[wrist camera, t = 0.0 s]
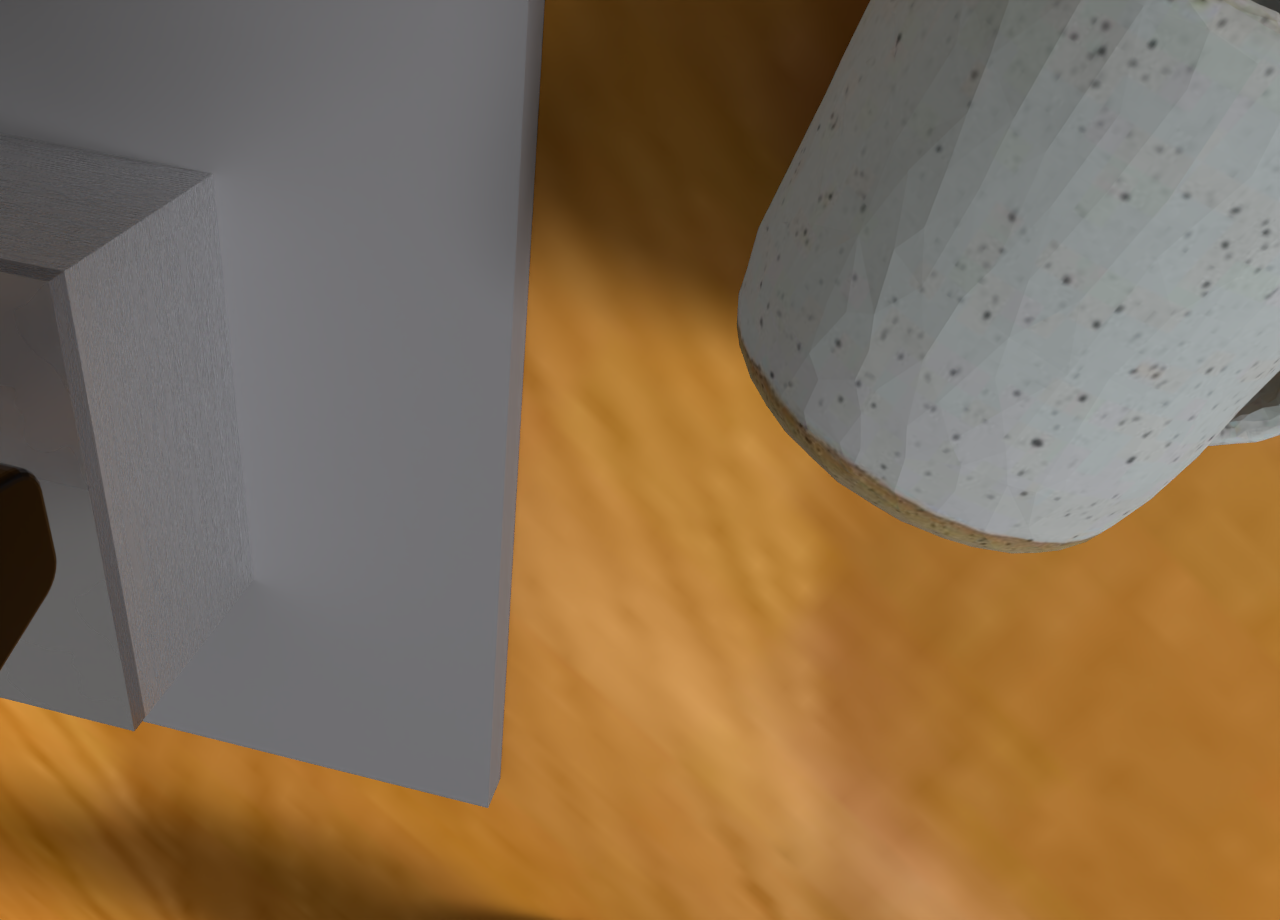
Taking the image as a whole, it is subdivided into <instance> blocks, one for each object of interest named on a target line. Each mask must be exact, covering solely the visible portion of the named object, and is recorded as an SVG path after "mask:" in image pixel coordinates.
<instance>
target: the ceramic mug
mask: <svg viewBox="0 0 1280 920" xmlns="http://www.w3.org/2000/svg"><path fill="white" fill-rule="evenodd" d="M737 330H738V338H739V345H740V348H741V351H742V354H743V357H744V360H745V363H746V366H747V368H748V371H749V374H750V377H751V379H752V381H753V383H754V384H755V386H756V388H757V389H758V391H759V393H760V395H761V396H762V398H763V400H764V402H765V403H766V405H767V406H768V408H769V409H770V411H771V412H772V413H773V415H774V416H775V418H776V419H777V421H778V422H779V423H780V425H781V426H782V428H783V429H784V430H785V432H786V433H787V434H788V435H789V436H790V437H791V438H792V439H793V440H794V441H796V442H797V443H798V444H799V445H800V446H801V447H802V448H803V449H804V450H805V451H806V452H807V453H808V454H809V455H810V456H811V457H812V458H813V459H814V460H815V461H816V462H817V463H818V464H819V465H820V466H821V467H822V468H823V469H825V470H826V471H827V472H828V473H829V474H830V475H831V476H832V477H833V478H834V479H835V480H836V481H837V482H839V483H840V484H842V485H843V486H845V487H847V488H848V489H850V490H851V491H853V492H854V493H856V494H858V495H859V496H861V497H862V498H864V499H865V500H867V501H869V502H870V503H872V504H873V505H875V506H877V507H878V508H880V509H882V510H883V511H885V512H887V513H888V514H890V515H892V516H894V517H895V518H897V519H899V520H900V521H903V522H905V523H908V524H910V525H913V526H915V527H917V528H920V529H922V530H925V531H927V532H930V533H932V534H935V535H937V536H940V537H942V538H945V539H948V540H952V541H955V542H958V543H962V544H965V545H968V546H972V547H977V548H983V549H989V550H995V551H1001V552H1007V553H1038V552H1048V551H1057V550H1061V549H1065V548H1068V547H1071V546H1074V545H1077V544H1081V543H1084V542H1087V541H1088V540H1090V539H1092V538H1093V537H1095V536H1096V535H1098V534H1100V533H1101V532H1103V531H1105V530H1106V529H1108V528H1110V527H1111V526H1113V525H1114V524H1116V523H1117V522H1119V521H1120V520H1122V519H1123V518H1125V517H1126V516H1128V515H1129V514H1130V513H1132V512H1133V511H1135V510H1136V509H1137V508H1139V507H1140V506H1142V505H1143V504H1145V503H1146V502H1147V501H1149V500H1150V499H1152V498H1153V497H1154V496H1155V495H1156V494H1157V493H1158V492H1159V491H1160V490H1161V489H1163V488H1164V487H1165V486H1166V485H1167V484H1168V483H1169V482H1170V481H1171V480H1173V479H1174V478H1175V477H1176V476H1177V475H1178V474H1179V473H1180V472H1181V471H1182V470H1184V469H1185V468H1186V467H1187V466H1188V465H1189V464H1190V463H1191V462H1192V461H1194V460H1195V459H1196V458H1197V457H1198V456H1199V455H1200V454H1201V453H1202V451H1203V450H1204V449H1205V448H1206V447H1207V446H1215V445H1225V444H1235V443H1251V442H1258V441H1262V440H1266V439H1269V438H1272V437H1274V436H1277V435H1280V0H870V2H869V4H868V6H867V8H866V10H865V12H864V14H863V16H862V18H861V20H860V22H859V24H858V27H857V29H856V31H855V33H854V35H853V37H852V39H851V41H850V43H849V45H848V47H847V49H846V51H845V53H844V55H843V57H842V60H841V62H840V64H839V66H838V68H837V70H836V72H835V75H834V77H833V79H832V81H831V83H830V85H829V88H828V90H827V92H826V94H825V96H824V98H823V100H822V102H821V104H820V106H819V108H818V110H817V112H816V114H815V116H814V118H813V120H812V122H811V124H810V126H809V128H808V130H807V132H806V134H805V136H804V138H803V140H802V142H801V144H800V146H799V148H798V150H797V152H796V154H795V156H794V158H793V160H792V162H791V164H790V166H789V168H788V170H787V172H786V174H785V176H784V178H783V180H782V182H781V184H780V186H779V188H778V190H777V192H776V194H775V196H774V198H773V200H772V202H771V204H770V206H769V208H768V210H767V212H766V214H765V216H764V218H763V220H762V222H761V224H760V226H759V228H758V232H757V235H756V239H755V243H754V246H753V250H752V253H751V257H750V260H749V264H748V267H747V271H746V274H745V277H744V280H743V283H742V286H741V289H740V292H739V299H738V316H737Z"/></svg>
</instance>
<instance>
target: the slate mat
mask: <svg viewBox="0 0 1280 920" xmlns="http://www.w3.org/2000/svg"><path fill="white" fill-rule="evenodd" d="M544 5H545V0H0V134H5V135H10V136H16V137H21V138H26V139H31V140H37V141H42V142H47V143H53V144H58V145H63V146H68V147H74V148H79V149H84V150H89V151H95V152H100V153H105V154H111V155H116V156H121V157H126V158H132V159H137V160H142V161H147V162H153V163H158V164H163V165H168V166H174V167H179V168H184V169H190V170H195V171H200V172H205V173H211V174H213V182H214V192H215V202H216V212H217V222H218V232H219V242H220V252H221V262H222V272H223V282H224V292H225V301H226V311H227V321H228V331H229V341H230V351H231V361H232V371H233V381H234V391H235V401H236V411H237V421H238V431H239V441H240V451H241V461H242V471H243V481H244V490H245V500H246V510H247V520H248V530H249V540H250V550H251V560H252V570H253V580H252V582H251V583H250V584H249V586H248V587H247V588H246V589H245V591H244V592H243V593H242V594H241V596H240V597H239V598H238V600H237V601H236V602H235V603H234V605H233V606H232V607H231V609H230V610H229V611H228V612H227V614H226V615H225V616H224V617H223V619H222V620H221V621H220V623H219V624H218V625H217V626H216V628H215V629H214V630H213V631H212V633H211V634H210V635H209V637H208V638H207V639H206V640H205V642H204V643H203V644H202V646H201V647H200V648H199V649H198V651H197V652H196V653H195V654H194V656H193V657H192V658H191V660H190V661H189V662H188V663H187V665H186V666H185V667H184V669H183V670H182V671H181V672H180V674H179V675H178V676H177V677H176V679H175V680H174V681H173V683H172V684H171V685H170V686H169V688H168V689H167V690H166V692H165V693H164V694H163V695H162V697H161V698H160V699H159V700H158V702H157V703H156V704H155V706H154V707H153V708H152V709H151V711H150V712H149V713H148V714H147V716H146V717H145V718H144V720H143V721H144V722H148V723H152V724H156V725H160V726H164V727H168V728H172V729H176V730H180V731H184V732H188V733H192V734H196V735H200V736H204V737H208V738H212V739H216V740H220V741H224V742H228V743H232V744H236V745H240V746H244V747H248V748H252V749H256V750H260V751H264V752H268V753H272V754H276V755H280V756H284V757H287V758H291V759H295V760H299V761H303V762H307V763H311V764H315V765H319V766H323V767H327V768H331V769H335V770H339V771H343V772H347V773H351V774H355V775H359V776H363V777H367V778H371V779H375V780H379V781H383V782H387V783H391V784H395V785H399V786H403V787H407V788H411V789H415V790H419V791H423V792H427V793H431V794H435V795H439V796H443V797H447V798H451V799H455V800H459V801H463V802H467V803H471V804H475V805H479V806H483V807H486V808H488V807H489V804H490V802H491V800H492V797H493V795H494V792H495V790H496V787H497V785H498V783H499V780H500V771H501V754H502V736H503V719H504V702H505V684H506V667H507V649H508V632H509V615H510V597H511V580H512V562H513V545H514V527H515V510H516V493H517V475H518V458H519V440H520V423H521V406H522V388H523V371H524V353H525V336H526V319H527V301H528V284H529V266H530V249H531V231H532V214H533V197H534V179H535V162H536V144H537V127H538V110H539V92H540V75H541V57H542V40H543V23H544Z"/></svg>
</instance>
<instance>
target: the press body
mask: <svg viewBox="0 0 1280 920" xmlns="http://www.w3.org/2000/svg"><path fill="white" fill-rule="evenodd" d="M0 463H4V464H8V465H13V466H17V467H21V468H24V469H27V470H28V471H30V472H32V473H33V474H34V475H35V477H36V478H37V479H38V481H39V482H40V485H41V488H42V492H43V496H44V501H45V506H46V510H47V515H48V519H49V524H50V529H51V533H52V538H53V542H54V547H55V552H56V558H57V564H56V573H55V578H54V581H53V584H52V586H51V589H50V591H49V593H48V595H47V596H46V598H45V600H44V601H43V603H42V604H41V606H40V608H39V609H38V611H37V612H36V614H35V616H34V617H33V619H32V620H31V622H30V624H29V625H28V627H27V629H26V630H25V632H24V633H23V635H22V637H21V638H20V640H19V641H18V643H17V645H16V646H15V648H14V649H13V651H12V653H11V654H10V656H9V657H8V659H7V661H6V662H5V664H4V666H3V667H2V669H1V670H0V697H1V698H5V699H9V700H13V701H17V702H21V703H25V704H29V705H33V706H37V707H41V708H45V709H49V710H53V711H57V712H61V713H65V714H68V715H72V716H76V717H80V718H84V719H88V720H92V721H96V722H100V723H104V724H108V725H112V726H116V727H120V728H124V729H128V730H132V731H135V730H136V729H137V727H138V726H139V725H140V723H141V722H142V721H143V720H144V718H145V717H146V716H147V714H148V713H149V712H150V711H151V709H152V708H153V707H154V706H155V704H156V703H157V702H158V700H159V699H160V698H161V697H162V695H163V694H164V693H165V692H166V690H167V689H168V688H169V686H170V685H171V684H172V683H173V681H174V680H175V679H176V677H177V676H178V675H179V674H180V672H181V671H182V670H183V669H184V667H185V666H186V665H187V663H188V662H189V661H190V660H191V658H192V657H193V656H194V654H195V653H196V652H197V651H198V649H199V648H200V647H201V646H202V644H203V643H204V642H205V640H206V639H207V638H208V637H209V635H210V634H211V633H212V631H213V630H214V629H215V628H216V626H217V625H218V624H219V623H220V621H221V620H222V619H223V617H224V616H225V615H226V614H227V612H228V611H229V610H230V609H231V607H232V606H233V605H234V603H235V602H236V601H237V600H238V598H239V597H240V596H241V594H242V593H243V592H244V591H245V589H246V588H247V587H248V586H249V584H250V583H251V582H252V580H253V570H252V560H251V550H250V540H249V530H248V520H247V510H246V500H245V490H244V481H243V471H242V461H241V451H240V441H239V431H238V421H237V411H236V401H235V391H234V381H233V371H232V361H231V351H230V341H229V331H228V321H227V311H226V301H225V292H224V282H223V272H222V262H221V252H220V242H219V232H218V222H217V212H216V202H215V192H214V182H213V174H211V173H205V172H200V171H195V170H190V169H184V168H179V167H174V166H168V165H163V164H158V163H153V162H147V161H142V160H137V159H132V158H126V157H121V156H116V155H111V154H105V153H100V152H95V151H89V150H84V149H79V148H74V147H68V146H63V145H58V144H53V143H47V142H42V141H37V140H31V139H26V138H21V137H16V136H10V135H5V134H0Z"/></svg>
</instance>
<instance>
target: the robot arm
mask: <svg viewBox="0 0 1280 920" xmlns="http://www.w3.org/2000/svg"><path fill="white" fill-rule="evenodd" d="M56 564H57V558H56V552H55V547H54V542H53V538H52V533H51V529H50V524H49V519H48V515H47V510H46V506H45V501H44V496H43V492H42V488H41V485H40V482H39V481H38V479H37V478H36V477H35V475H34V474H33V473H32V472H30V471H28V470H27V469H24V468H21V467H17V466H13V465H8V464H4V463H0V670H1V669H2V667H3V666H4V664H5V662H6V661H7V659H8V657H9V656H10V654H11V653H12V651H13V649H14V648H15V646H16V645H17V643H18V641H19V640H20V638H21V637H22V635H23V633H24V632H25V630H26V629H27V627H28V625H29V624H30V622H31V620H32V619H33V617H34V616H35V614H36V612H37V611H38V609H39V608H40V606H41V604H42V603H43V601H44V600H45V598H46V596H47V595H48V593H49V591H50V589H51V586H52V584H53V581H54V578H55V573H56Z"/></svg>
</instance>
